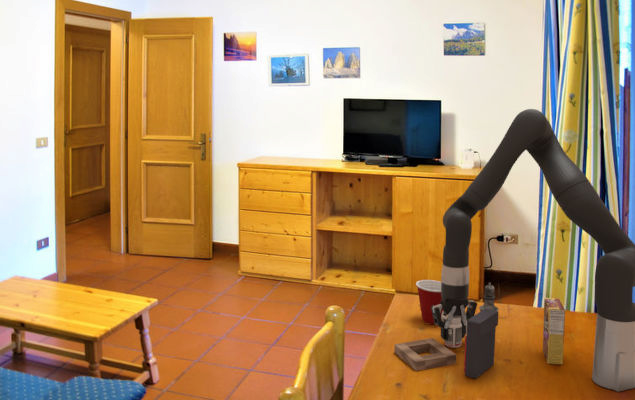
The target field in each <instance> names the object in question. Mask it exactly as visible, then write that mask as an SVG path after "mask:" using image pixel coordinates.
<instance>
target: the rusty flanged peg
mask: <svg viewBox="0 0 635 400" xmlns="http://www.w3.org/2000/svg"><path fill="white" fill-rule="evenodd" d="M483 298H484V300H483V304H482V305H480V306H479V308H478V309H479V312H481V311H482V310H484V309H491V310H495V311H498V312H499V307H497V306H495V299H496V295H495V286H494V285H492V283H491V282H488V284H487V285H486V286H485V287H484V295H483Z"/></svg>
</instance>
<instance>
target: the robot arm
mask: <svg viewBox="0 0 635 400" xmlns="http://www.w3.org/2000/svg"><path fill="white" fill-rule="evenodd" d="M525 151H526V152H527V153H528V154H529V155H530V157H532V159H533V160H534V161H535V162H536V164H537V165H538V167H539V168H540V170H541V172H542V174H543V177H544V180H545V182H546V184H547V186H548V189H549V191H550V192H551V194H552V196H553V197H554V199H555V201H556V203H557V204H558V206H559V207H560V209H561V211H562V212H563V213H564V215H565V216H566V218H568V219H569V220H570V221H571V222H572V223H573V224H574V225H576V226H577V227H579V228H580V229H581V230H582V231H583V232H585V233H587V234H588V235H589V236H590V237H591V238H592V239H593V240H594V241H595V242H596V243H597V245H598V246H599V247H600V249H601V250H602V251H603V253H604V254H603V255H602V256H601V257H600V258H598V260H597V263H596V266H595V273H594V275H595V276H594V303H595V305H596V308H597V309H596V323H595V333H594V334H595V335H594V336H595V337H594V347H593V348H594V349H593V360H592V361H593V362H592V363H593V364H592V377H591V378H592V381H593V382H594V383H595V384H596V385H598V386H600V387H603V388H606V389H610V390H613V391H615V392H622V391H628V390H630V389H631V390H632V389H635V302H633V292H634V291H633V289H634V288H635V243H634V242H633V240H632V239H631V238H630V237H629V236H628V235H627V233H626V232H625V231H624V230H623V228H622V227H621V226H620V224H619V223H618V222H617V221H616V219H615V217H614V216H613V214H612V212H611V211H610V210H609V209H608V207H607V206H606V204H605V203H604V202H603V200H602V199H601V197H600V195H599V194H598V192H597V191H596V189H595V187H594V186H593V185H592V183H591V181H590V180H589V179H588V178H587V176H586V175H585V173H584V172H583V171H582V170H581V169H580V167H578V165H577V164H576V163H575V162H574V161H573V160H572V159H571V158H570V157H569V156H568V154H567V153H566V152H565V150H564V148H563V147H562V145H561V143H560V142H559V139H558V138H557V136H556V134H555V132H554V130H553V127H552V125H551V123H550V121H549V120H548V119H547V117H546V116H545V114H544V113H543V112H542V111H540V110H538V109H534V108H529V109H527V108H526V109H525V110H522V111H520V112H519V113H518V114H517V115H516V116H515V117H514V119H513V120H512V122H511V123H510V125H509V127H508V129H507V130H506V133H505V134H504V136H503V137H502V139H501V142H500V143H499V145H498V146H497V148H496V149H495V150H494V152H493V154H492V155H491V157H490V159H488V161H487V162H486V164H485V165H484V167H482V169H481V171H480V172H479V173H478V174H477V175H476V177H475V178H474V179H473V180H472V182H470V184H469V185H468V187H467V188H466V189H465V191H464V193H463V194H462V195H460V196H459V197H458V198H457V199H456V200H455V201H454V202H453V203H452V204H451V205H450V206H449V207H448V208H447V210H446V211H445V212H444V214H443V216H442V224H443V225H442V226H444V228H445V241H444V243H445V245H444V246H443V249H442V250H443V251H442V266H441V267H442V268H441V278H440V279H441V280H440V282H441V297H442V300H441V302H440V304H439V305H436V306H434V305H432V306H431V310H432V314H433V319H434V323H435V324H434V325H436V326H437V327H439V328H440V338H441V339H442V340H443V341H444V342H445V341H447V340H448V326H449V323H450V321H451V320H452V317H453V316H456V315H457V316H461V323H462V339H465V336H466V322H467V320H468V319H470V318H471V317H473V316H474V315H476V312H477V307H478V302H477V301H475V300H473V299H470V300H469V296H470V295H469V288H470V267H469V266H470V265H469V264H470V263H469V261H470V244H471V239H472V230H473V229H472V228H473V225H472V219H473V218H474V217H475V216H476V215H477V214H478V212H479V211H483V210H485V209H486V207H487V206H488V205H489V204H490V203H491V202H492V201H493V199H494V198H495V197H496V196H497V194H498V193H499V191H500V190H501V189H502V187H503V185H504V183H505V182H506V180H507V178H508V176H509V174H510V172H511V170H512V169H513V166H515V164H516V162H517V161H518V160H519V158H520V157H521V155H522V154H523V153H524V152H525ZM441 309H443V312H442V315H440V313H441ZM465 310H466V311H465ZM447 315H448V316H447ZM441 317H442V319H441Z"/></svg>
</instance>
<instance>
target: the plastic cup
mask: <svg viewBox="0 0 635 400" xmlns="http://www.w3.org/2000/svg"><path fill="white" fill-rule="evenodd" d="M415 286H416V288H417V294H418V299H419V300H418V301H419V307H420V313H421V319H422V322H423V323H425V324H427V323H428V324H429V325H436V324H435V323H434V319H433V314H432V310H431V306H432V305H434V306H436V305H439V304H440V302H441V300H442V297H441V280H440V281H439V280H432V279H421V280H418V281H416V283H415ZM442 312H443V309H441V313H440V315H442ZM441 319H442V317H441Z"/></svg>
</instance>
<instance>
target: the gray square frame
mask: <svg viewBox="0 0 635 400" xmlns="http://www.w3.org/2000/svg"><path fill="white" fill-rule="evenodd" d="M393 348H394V350H393V351H394V354H395V353H396V354H397V355H398V356H397V355H396V354H395V355H396V356H397V357H399V358H400V359H401V360H402V359H403V360H404V361H403V360H402V361H403V362H404V363H406V364H407V365H408V366H409V367H410V366H411V369H413V370H414V371H415V372H418V370H419V371H425V370H428V369H434V368H441V367H446V366H451V365H455V364H457V354H456V353H455V352H453V351H452V350H450V349H449V347H447V346H446V345H443V344H442V343H441V342H440V341H438V340H437V339H435V338H434V337H431V338H424V339H418V340H414V341H413V340H412V341H407V342H402V343H401V342H400V343H395V344H394V347H393ZM424 353H430V354H425V355H420V354H424Z"/></svg>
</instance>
